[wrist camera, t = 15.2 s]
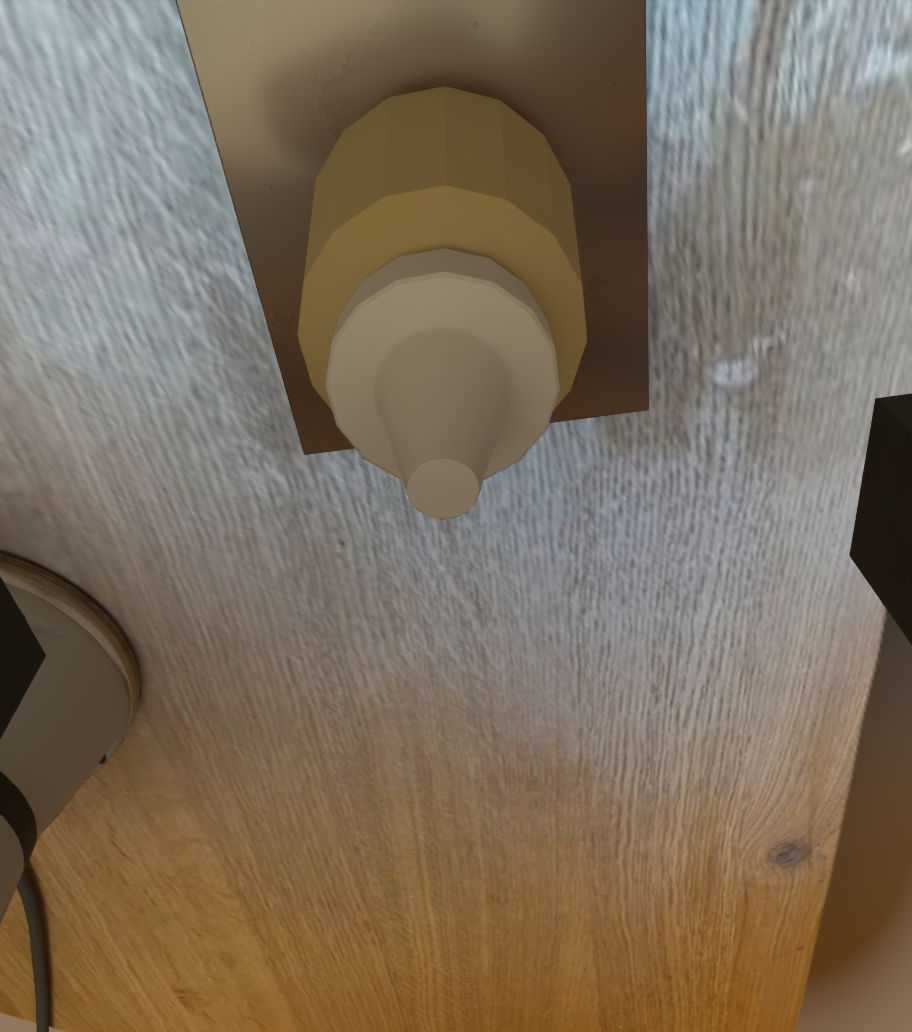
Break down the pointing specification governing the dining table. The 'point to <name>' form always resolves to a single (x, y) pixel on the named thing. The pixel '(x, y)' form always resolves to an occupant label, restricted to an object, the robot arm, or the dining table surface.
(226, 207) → the dining table surface
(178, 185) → the dining table surface
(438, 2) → the walnut board
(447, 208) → the squeeze bottle
